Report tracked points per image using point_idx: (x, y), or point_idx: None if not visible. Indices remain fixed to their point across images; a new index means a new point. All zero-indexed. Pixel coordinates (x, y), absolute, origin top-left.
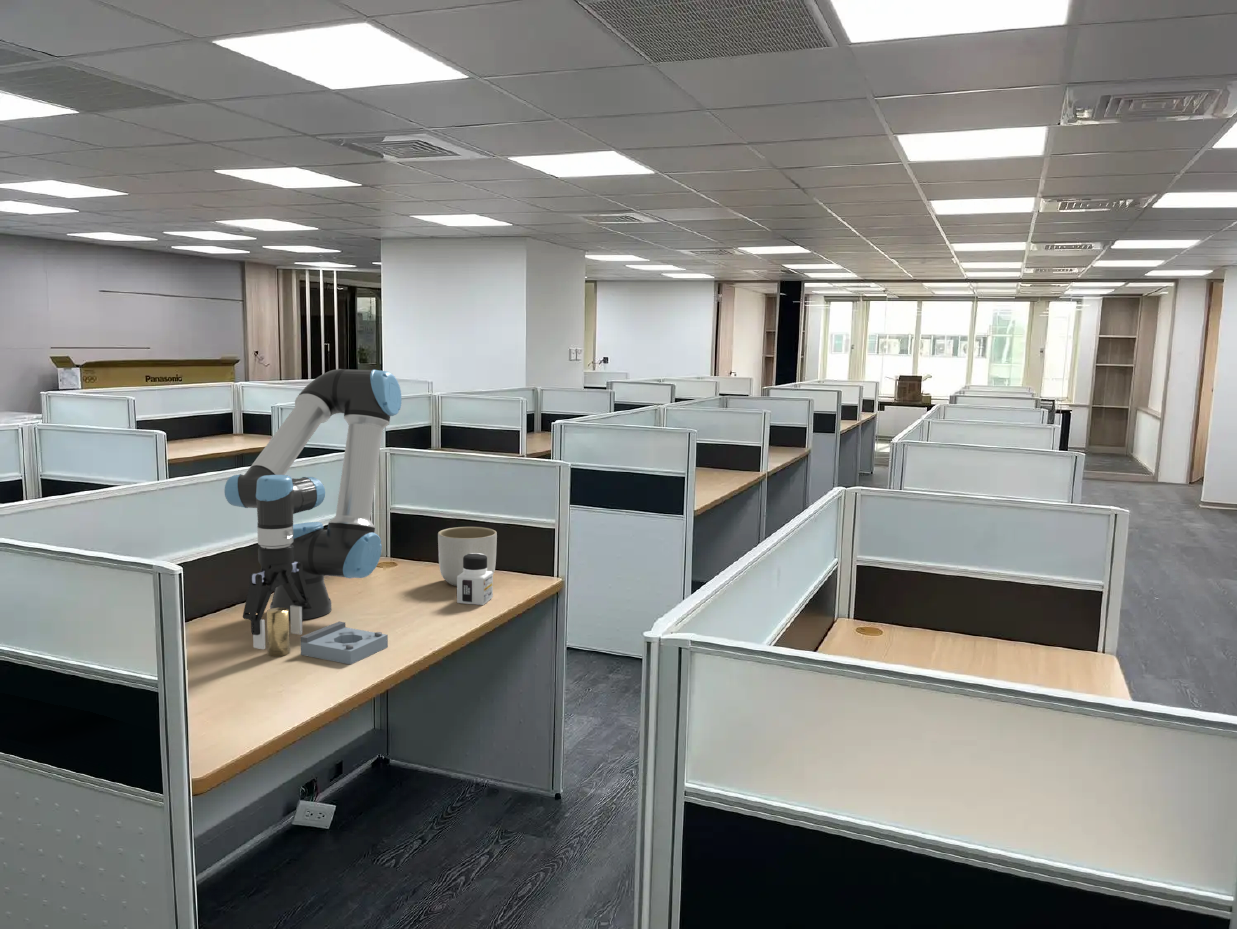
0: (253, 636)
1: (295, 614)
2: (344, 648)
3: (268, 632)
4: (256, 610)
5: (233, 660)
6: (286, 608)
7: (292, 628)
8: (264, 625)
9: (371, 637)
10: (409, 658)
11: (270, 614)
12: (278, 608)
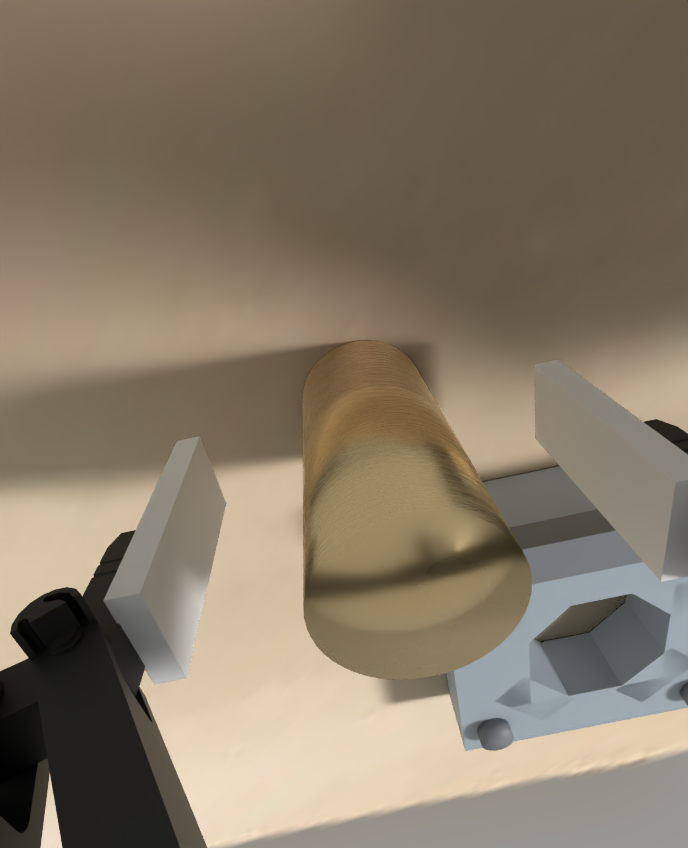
0: (157, 489)
1: (616, 489)
2: (479, 720)
3: (303, 472)
4: (35, 834)
5: (102, 301)
6: (523, 604)
7: (550, 395)
8: (193, 632)
9: (660, 689)
10: (602, 750)
11: (307, 619)
12: (480, 553)
